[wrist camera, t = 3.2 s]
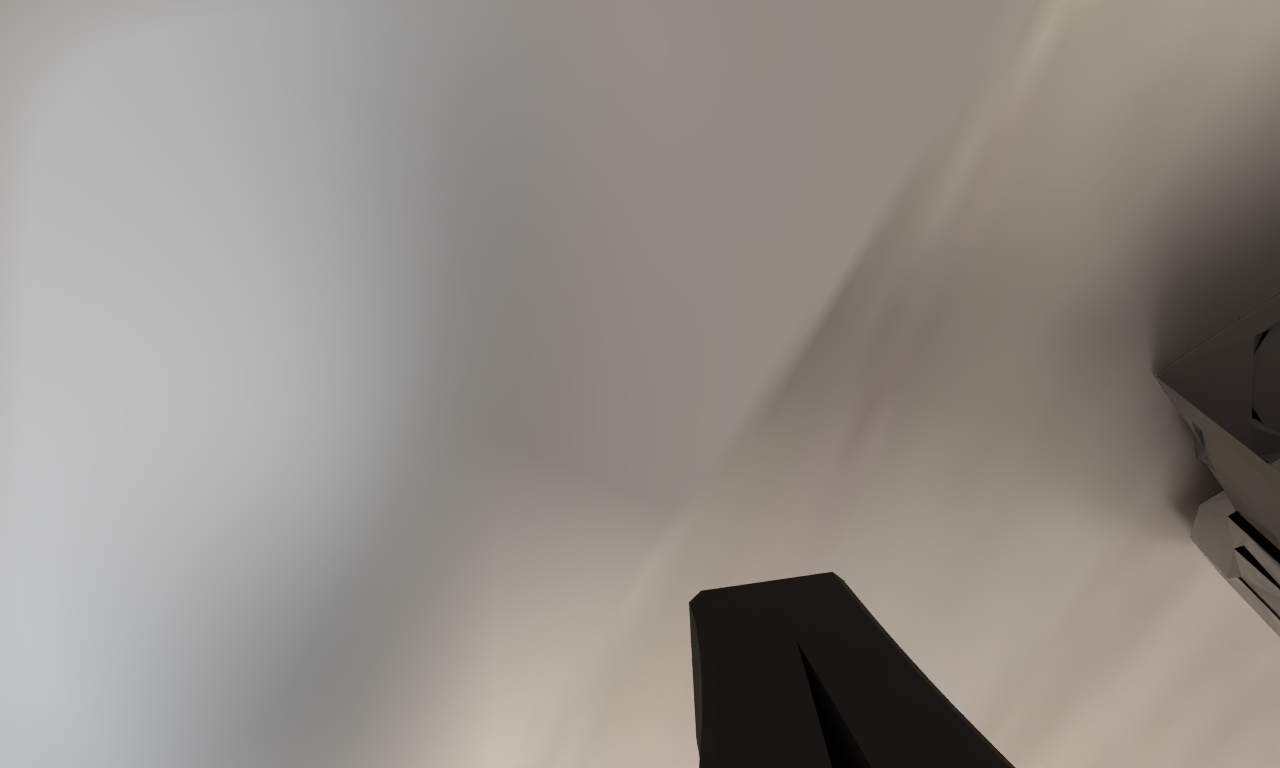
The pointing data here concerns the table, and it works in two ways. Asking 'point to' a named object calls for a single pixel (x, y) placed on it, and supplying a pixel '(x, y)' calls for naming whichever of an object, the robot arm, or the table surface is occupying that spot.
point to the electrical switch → (1237, 451)
